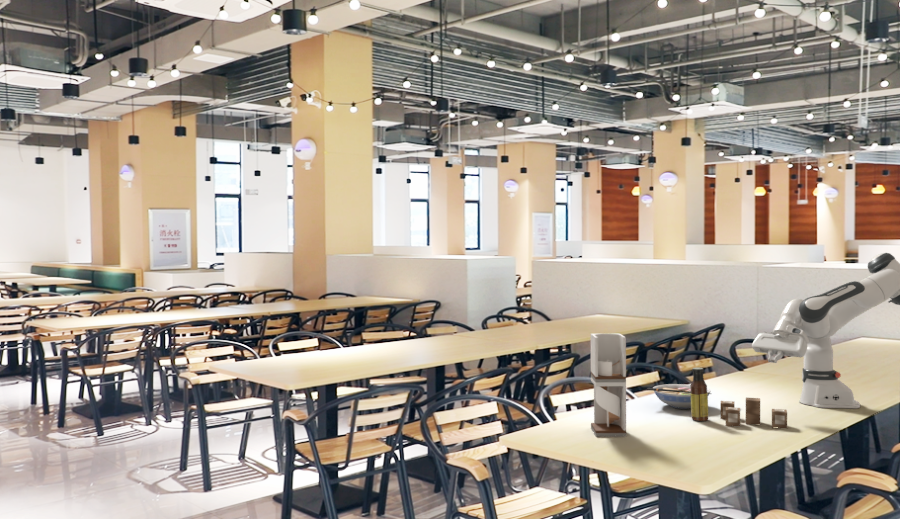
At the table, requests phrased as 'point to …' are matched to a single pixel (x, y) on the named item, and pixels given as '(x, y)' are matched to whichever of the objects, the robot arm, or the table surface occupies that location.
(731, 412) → the white-paneled wooden block
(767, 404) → the table surface
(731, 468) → the table surface
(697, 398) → the sauce bottle
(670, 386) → the ramen bowl
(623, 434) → the spiral tower model
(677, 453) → the table surface
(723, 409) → the white paneled block
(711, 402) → the table surface
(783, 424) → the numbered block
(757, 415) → the plain block
